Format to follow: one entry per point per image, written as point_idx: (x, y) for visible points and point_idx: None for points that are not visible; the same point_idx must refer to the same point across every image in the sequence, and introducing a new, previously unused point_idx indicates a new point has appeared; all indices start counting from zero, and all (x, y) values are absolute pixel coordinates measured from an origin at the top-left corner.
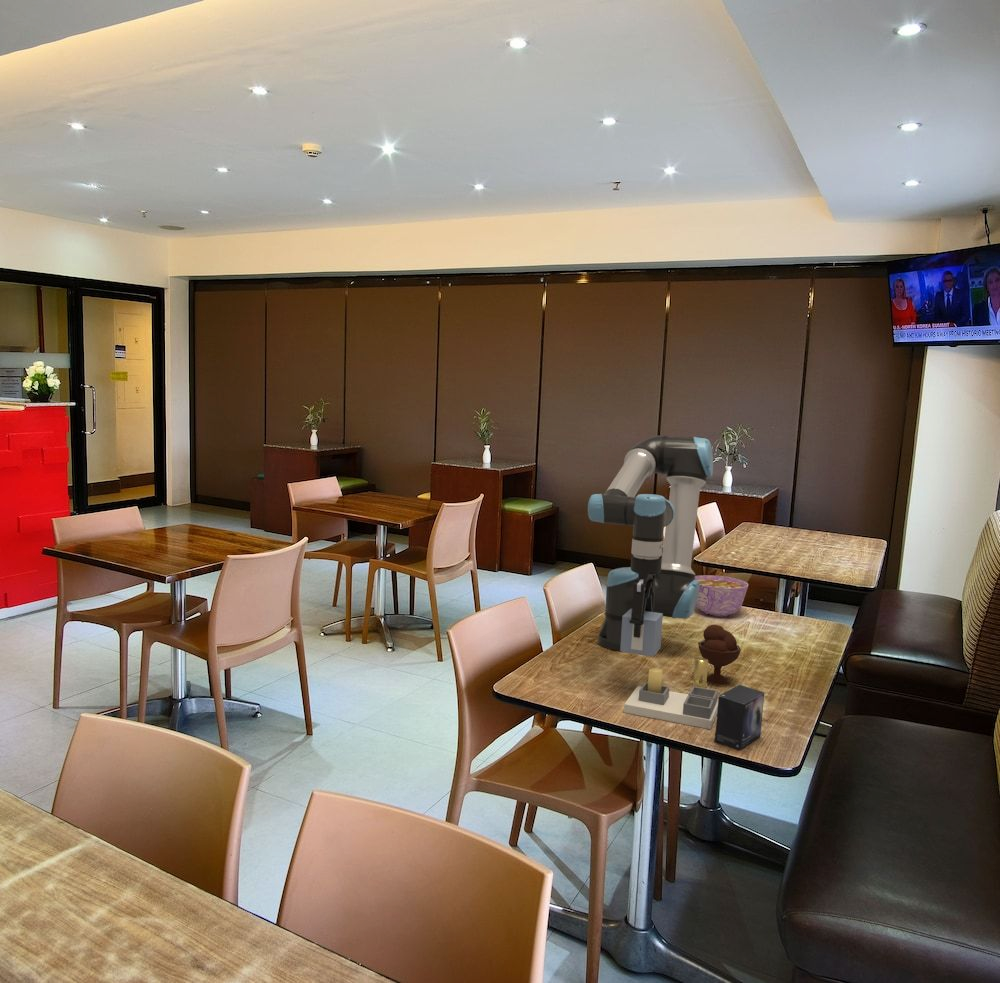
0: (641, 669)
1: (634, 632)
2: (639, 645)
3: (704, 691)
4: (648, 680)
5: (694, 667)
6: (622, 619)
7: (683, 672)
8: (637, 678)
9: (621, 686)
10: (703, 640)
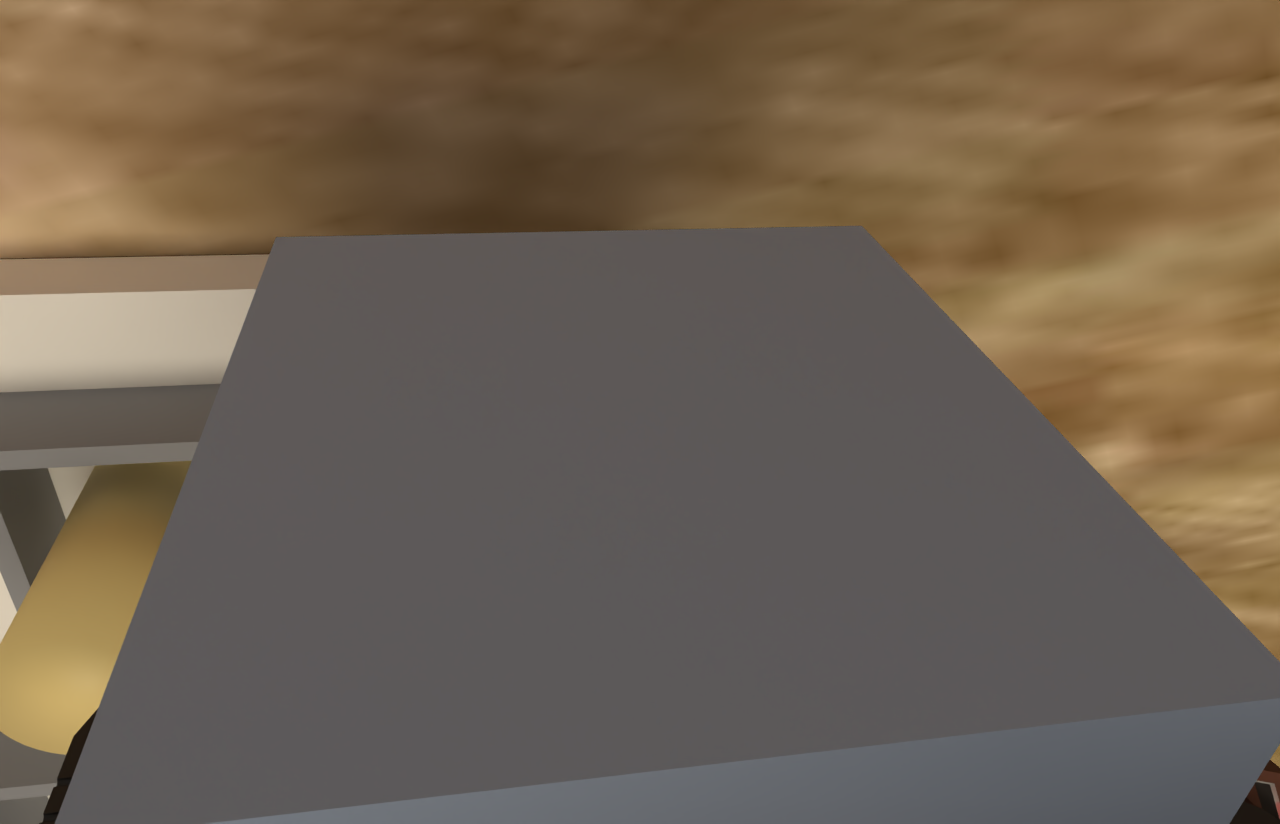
0: (1112, 124)
1: (52, 806)
2: None
3: None
4: (55, 564)
5: None
6: (92, 735)
7: (1101, 448)
8: (837, 151)
9: (527, 55)
10: (1269, 773)
